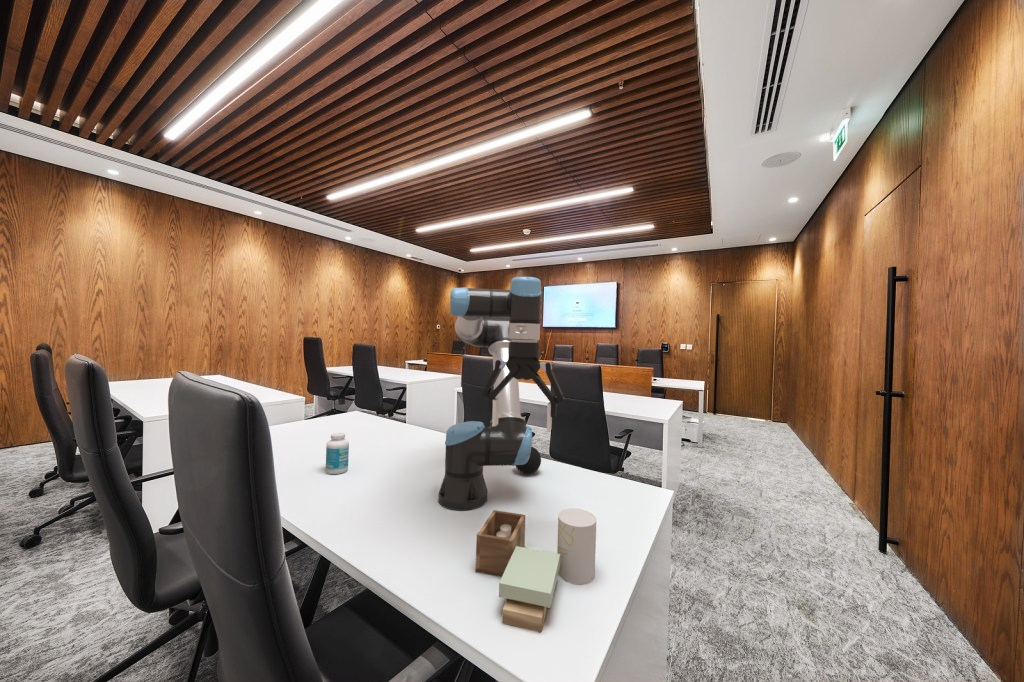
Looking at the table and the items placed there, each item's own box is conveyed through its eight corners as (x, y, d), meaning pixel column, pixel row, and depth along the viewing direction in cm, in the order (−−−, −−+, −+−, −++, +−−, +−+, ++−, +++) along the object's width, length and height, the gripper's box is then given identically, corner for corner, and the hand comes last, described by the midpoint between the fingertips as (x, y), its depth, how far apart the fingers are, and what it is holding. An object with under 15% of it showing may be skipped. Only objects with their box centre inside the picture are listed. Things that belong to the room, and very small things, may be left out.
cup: (553, 561, 85) (555, 508, 84) (588, 560, 85) (590, 508, 85) (561, 585, 77) (562, 527, 76) (599, 583, 77) (601, 526, 77)
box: (511, 579, 78) (512, 541, 78) (475, 571, 80) (476, 535, 80) (524, 547, 90) (525, 514, 89) (492, 542, 92) (493, 510, 91)
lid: (550, 612, 65) (550, 593, 65) (498, 600, 68) (499, 583, 68) (559, 569, 78) (560, 553, 78) (515, 561, 80) (516, 546, 80)
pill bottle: (342, 475, 131) (343, 437, 131) (321, 474, 131) (322, 436, 131) (351, 468, 139) (352, 432, 139) (332, 467, 139) (332, 431, 139)
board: (541, 632, 64) (541, 617, 64) (502, 623, 66) (502, 609, 66) (554, 575, 80) (555, 563, 80) (522, 569, 81) (523, 557, 81)
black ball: (523, 466, 145) (524, 441, 145) (545, 472, 140) (546, 446, 139) (508, 473, 137) (509, 446, 137) (531, 480, 132) (532, 452, 131)
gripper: (470, 339, 90) (468, 426, 91) (574, 343, 84) (571, 436, 85) (481, 339, 98) (478, 419, 98) (577, 342, 91) (574, 428, 92)
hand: (521, 427), depth 91 cm, fingers open, 13 cm apart
